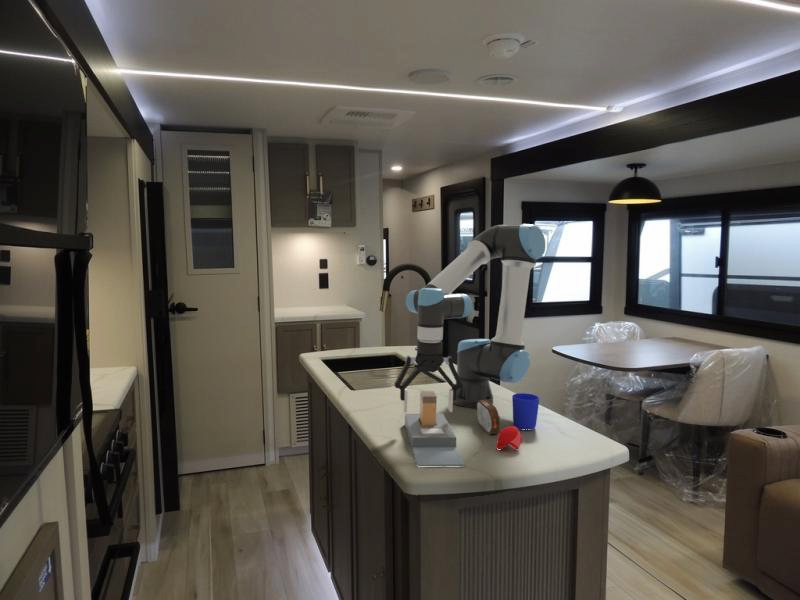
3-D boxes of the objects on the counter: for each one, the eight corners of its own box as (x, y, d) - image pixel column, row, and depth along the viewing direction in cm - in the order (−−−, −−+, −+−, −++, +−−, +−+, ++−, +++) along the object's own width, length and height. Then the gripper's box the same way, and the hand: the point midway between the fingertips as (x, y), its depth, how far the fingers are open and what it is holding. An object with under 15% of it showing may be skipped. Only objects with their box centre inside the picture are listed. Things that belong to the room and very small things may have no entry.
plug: (432, 429, 165) (433, 391, 164) (435, 436, 159) (436, 396, 158) (419, 429, 165) (420, 391, 164) (421, 436, 159) (422, 396, 158)
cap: (512, 430, 156) (496, 421, 154) (526, 429, 151) (511, 420, 149) (505, 457, 152) (489, 448, 150) (520, 457, 148) (504, 448, 146)
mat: (455, 449, 149) (455, 447, 149) (464, 467, 137) (465, 464, 137) (412, 450, 148) (412, 447, 148) (417, 467, 136) (417, 464, 136)
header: (442, 424, 171) (442, 412, 170) (455, 449, 149) (456, 436, 148) (404, 424, 169) (405, 413, 169) (412, 450, 148) (412, 437, 147)
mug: (540, 422, 175) (541, 391, 174) (536, 433, 164) (538, 401, 163) (514, 419, 178) (515, 389, 177) (509, 430, 166) (510, 398, 166)
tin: (500, 437, 160) (501, 409, 159) (490, 438, 159) (491, 410, 158) (484, 421, 174) (485, 396, 174) (474, 422, 174) (475, 396, 173)
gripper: (468, 338, 164) (466, 407, 166) (386, 338, 162) (385, 407, 164) (474, 343, 157) (471, 414, 159) (388, 342, 155) (386, 414, 157)
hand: (427, 411), depth 161 cm, fingers open, 13 cm apart
